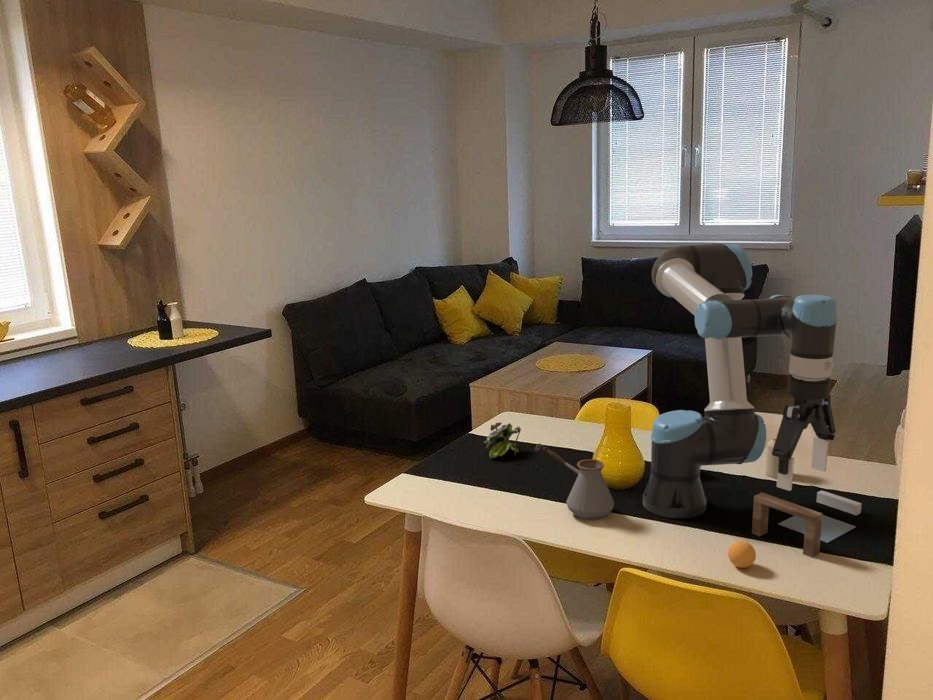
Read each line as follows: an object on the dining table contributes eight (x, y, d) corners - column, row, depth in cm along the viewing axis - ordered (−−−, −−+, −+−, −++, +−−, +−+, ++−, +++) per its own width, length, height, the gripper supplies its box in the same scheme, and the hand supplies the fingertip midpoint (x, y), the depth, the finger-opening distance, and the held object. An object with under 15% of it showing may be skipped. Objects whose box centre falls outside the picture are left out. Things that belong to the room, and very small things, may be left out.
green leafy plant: (496, 467, 237) (503, 429, 241) (526, 468, 230) (533, 429, 234) (474, 456, 229) (482, 417, 233) (504, 456, 222) (512, 416, 226)
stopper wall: (816, 501, 194) (817, 492, 194) (820, 499, 195) (821, 490, 195) (856, 515, 186) (857, 505, 186) (860, 513, 188) (861, 503, 187)
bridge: (811, 557, 168) (814, 517, 166) (751, 533, 179) (753, 495, 177) (819, 553, 170) (822, 513, 167) (759, 529, 181) (761, 492, 179)
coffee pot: (622, 511, 193) (623, 453, 189) (598, 528, 184) (599, 468, 180) (549, 490, 206) (549, 436, 202) (524, 505, 197) (523, 449, 194)
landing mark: (778, 524, 183) (778, 523, 183) (806, 510, 190) (806, 509, 190) (827, 543, 174) (827, 542, 174) (855, 527, 181) (855, 526, 181)
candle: (783, 470, 214) (786, 436, 211) (790, 478, 208) (792, 443, 206) (763, 470, 214) (765, 435, 212) (768, 478, 209) (770, 443, 207)
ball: (721, 565, 166) (723, 541, 165) (737, 557, 169) (739, 533, 168) (744, 575, 161) (746, 551, 160) (760, 567, 165) (762, 542, 163)
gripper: (795, 393, 141) (787, 503, 146) (859, 367, 157) (850, 467, 162) (756, 385, 147) (750, 490, 152) (822, 360, 162) (814, 457, 167)
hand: (801, 478), depth 157 cm, fingers open, 13 cm apart
